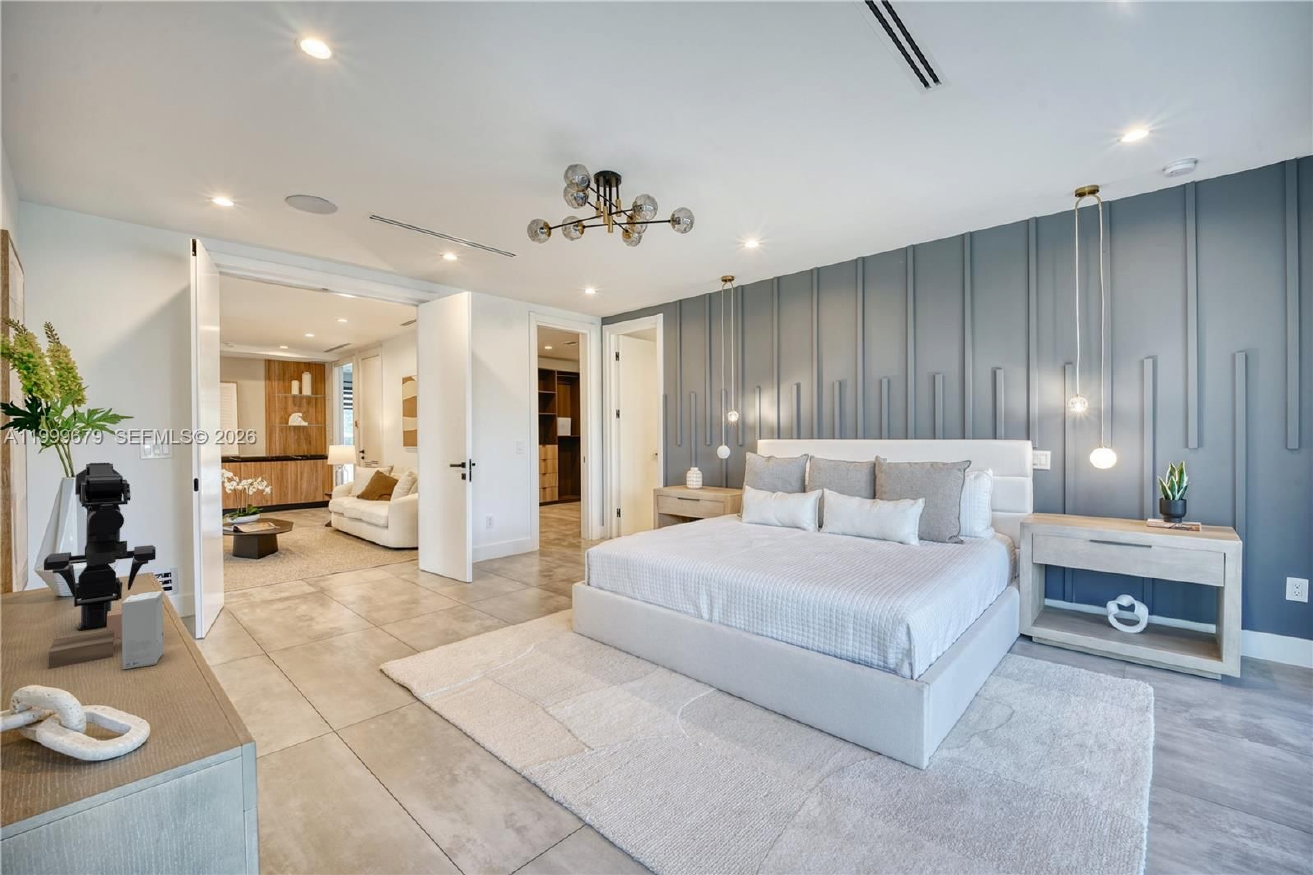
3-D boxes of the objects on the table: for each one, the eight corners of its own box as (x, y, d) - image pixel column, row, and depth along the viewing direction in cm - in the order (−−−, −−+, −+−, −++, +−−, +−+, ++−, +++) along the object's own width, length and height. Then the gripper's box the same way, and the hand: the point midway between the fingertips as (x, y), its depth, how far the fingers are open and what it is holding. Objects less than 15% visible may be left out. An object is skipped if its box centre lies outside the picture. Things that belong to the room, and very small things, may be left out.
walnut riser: (53, 656, 128) (54, 639, 128) (114, 646, 135) (114, 629, 135) (48, 670, 121) (48, 652, 121) (112, 658, 128) (113, 641, 128)
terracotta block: (107, 635, 142) (107, 611, 142) (134, 630, 145) (134, 607, 145) (106, 640, 138) (107, 616, 138) (134, 635, 142) (134, 612, 142)
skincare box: (156, 665, 124) (157, 597, 124) (119, 671, 120) (120, 602, 120) (163, 652, 131) (164, 589, 131) (129, 658, 127) (129, 592, 127)
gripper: (40, 537, 121) (39, 609, 121) (156, 529, 133) (155, 594, 134) (47, 529, 129) (46, 596, 129) (155, 522, 142) (154, 583, 142)
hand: (102, 593), depth 133 cm, fingers open, 9 cm apart
